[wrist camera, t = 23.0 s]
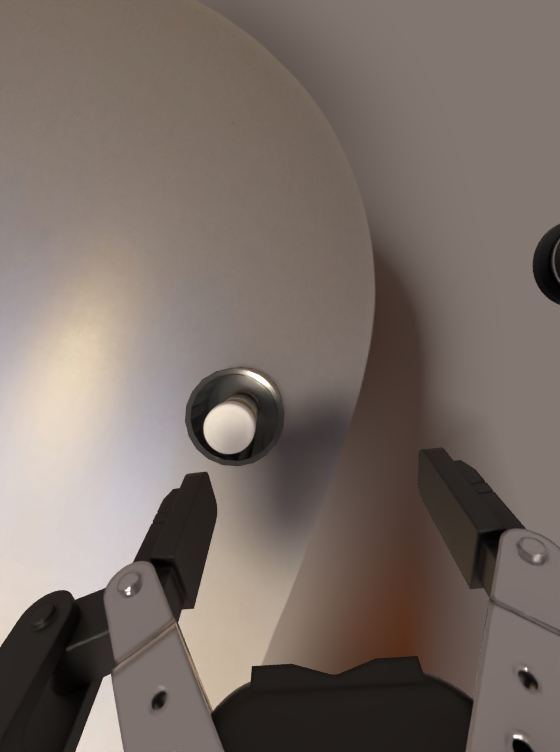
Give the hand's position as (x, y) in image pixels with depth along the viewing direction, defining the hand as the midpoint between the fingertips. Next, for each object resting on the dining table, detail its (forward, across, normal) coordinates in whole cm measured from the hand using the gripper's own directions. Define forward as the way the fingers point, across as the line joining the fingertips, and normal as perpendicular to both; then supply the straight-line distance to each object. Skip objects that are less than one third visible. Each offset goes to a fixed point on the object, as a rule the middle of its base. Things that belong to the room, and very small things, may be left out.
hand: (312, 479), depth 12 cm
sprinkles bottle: (+27, +8, +10) cm, 30 cm away
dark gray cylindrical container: (+27, +8, +10) cm, 30 cm away
